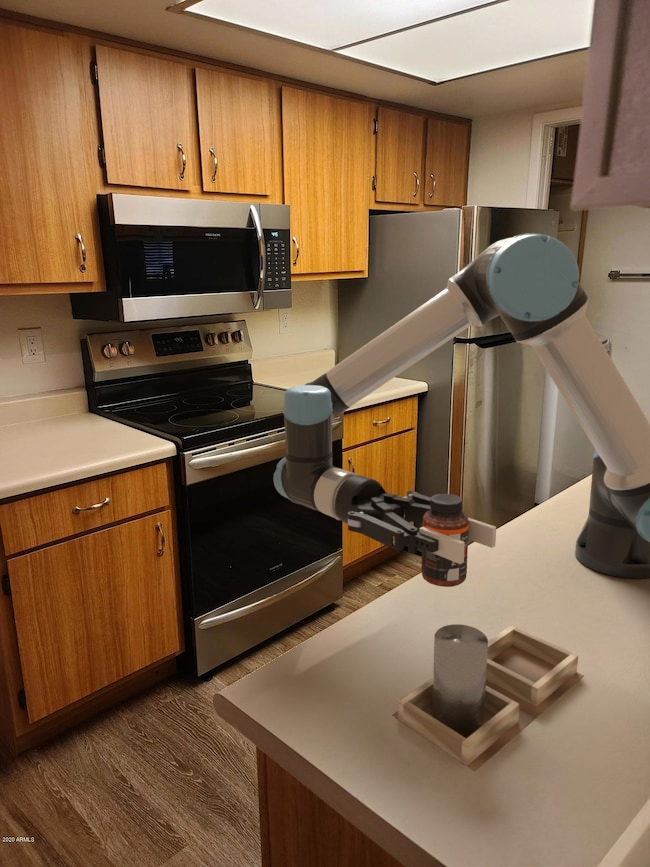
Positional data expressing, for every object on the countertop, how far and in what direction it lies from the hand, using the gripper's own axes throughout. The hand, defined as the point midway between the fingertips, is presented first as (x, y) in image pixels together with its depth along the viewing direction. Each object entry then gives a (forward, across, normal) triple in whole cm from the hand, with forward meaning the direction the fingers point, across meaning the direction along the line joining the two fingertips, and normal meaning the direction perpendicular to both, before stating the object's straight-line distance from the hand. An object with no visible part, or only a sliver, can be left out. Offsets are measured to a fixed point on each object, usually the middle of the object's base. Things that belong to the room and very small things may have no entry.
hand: (478, 544), depth 80 cm
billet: (+4, +9, -18) cm, 21 cm away
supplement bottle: (-5, 0, -7) cm, 8 cm away
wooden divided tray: (+4, +2, -20) cm, 20 cm away
